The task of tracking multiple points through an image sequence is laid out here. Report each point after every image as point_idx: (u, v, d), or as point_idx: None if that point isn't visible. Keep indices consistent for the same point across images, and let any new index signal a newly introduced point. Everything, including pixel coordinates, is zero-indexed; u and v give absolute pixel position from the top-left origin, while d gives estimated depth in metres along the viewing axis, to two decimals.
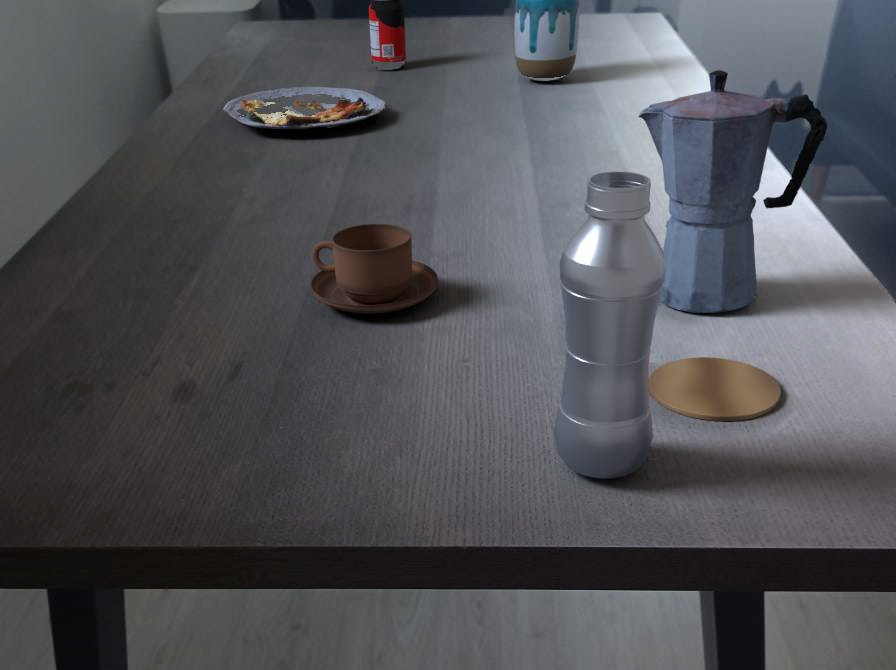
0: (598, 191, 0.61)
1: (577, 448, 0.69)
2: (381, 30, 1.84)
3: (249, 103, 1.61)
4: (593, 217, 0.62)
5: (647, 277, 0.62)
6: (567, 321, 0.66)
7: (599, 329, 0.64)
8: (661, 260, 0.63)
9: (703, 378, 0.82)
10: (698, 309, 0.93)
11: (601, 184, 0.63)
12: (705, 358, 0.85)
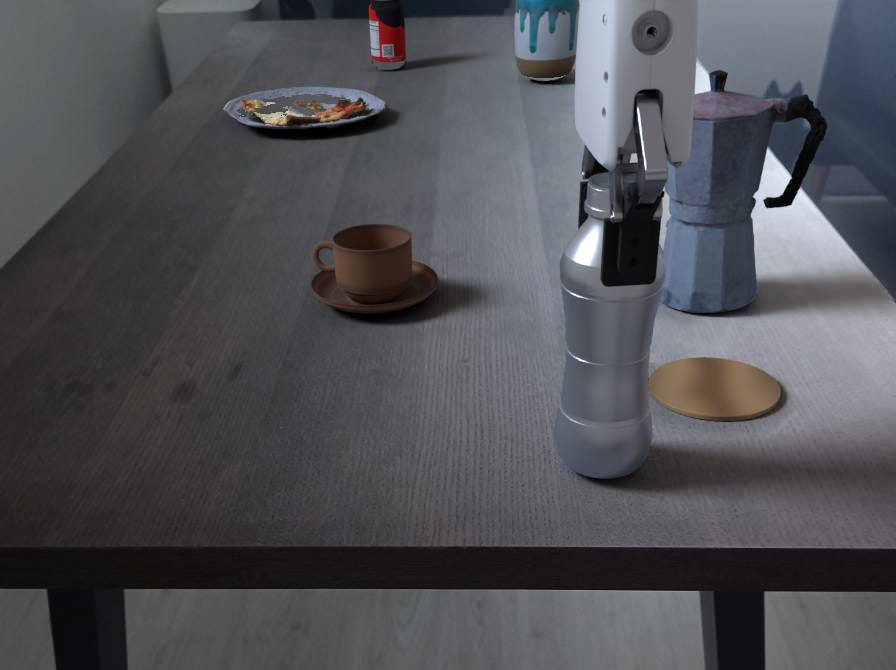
0: (598, 191, 0.61)
1: (577, 448, 0.69)
2: (381, 30, 1.84)
3: (249, 103, 1.61)
4: (593, 217, 0.62)
5: None
6: (567, 321, 0.66)
7: (599, 330, 0.64)
8: (661, 260, 0.63)
9: (703, 378, 0.82)
10: (698, 309, 0.93)
11: (601, 184, 0.63)
12: (705, 358, 0.85)
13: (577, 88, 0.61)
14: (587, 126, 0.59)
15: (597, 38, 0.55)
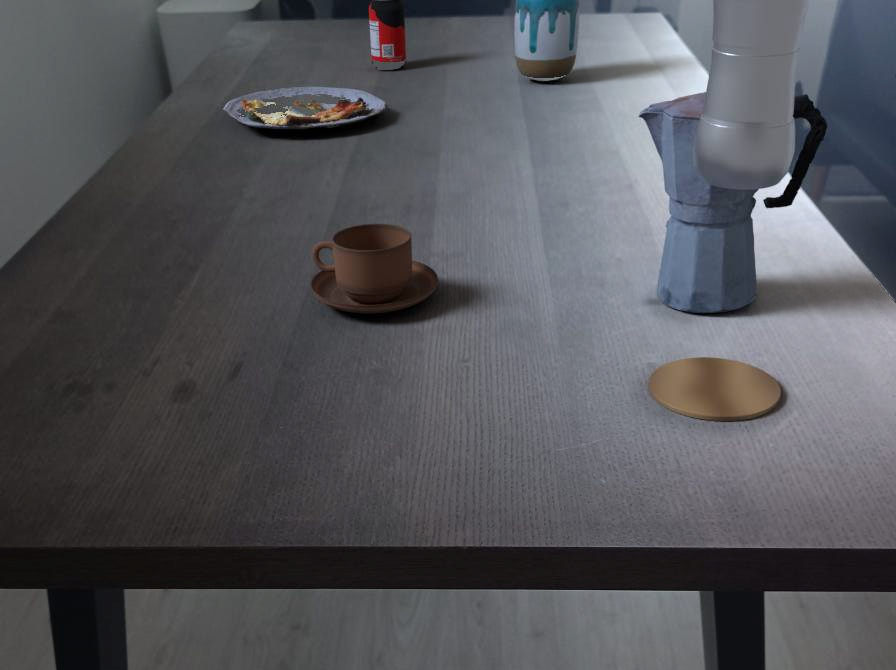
0: None
1: (722, 155, 0.69)
2: (381, 30, 1.84)
3: (249, 103, 1.61)
4: None
5: None
6: (718, 15, 0.66)
7: (754, 15, 0.64)
8: None
9: (703, 378, 0.82)
10: (698, 309, 0.93)
11: None
12: (705, 358, 0.85)
13: None
14: None
15: None
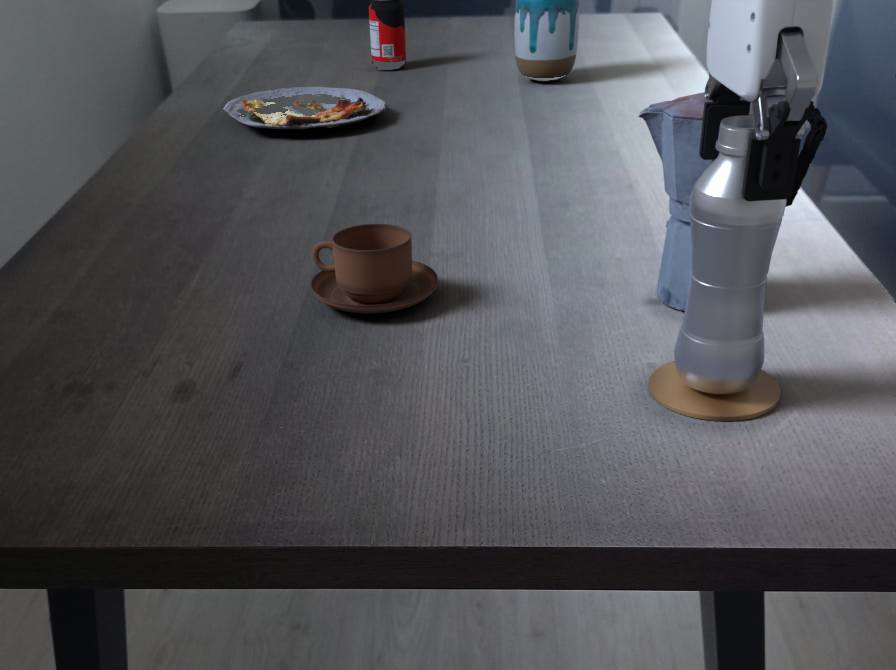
0: (732, 131, 0.69)
1: (699, 366, 0.77)
2: (381, 30, 1.84)
3: (249, 103, 1.61)
4: (725, 155, 0.71)
5: (772, 208, 0.71)
6: (695, 250, 0.75)
7: (726, 256, 0.73)
8: None
9: None
10: None
11: None
12: None
13: (713, 32, 0.69)
14: (726, 64, 0.68)
15: None
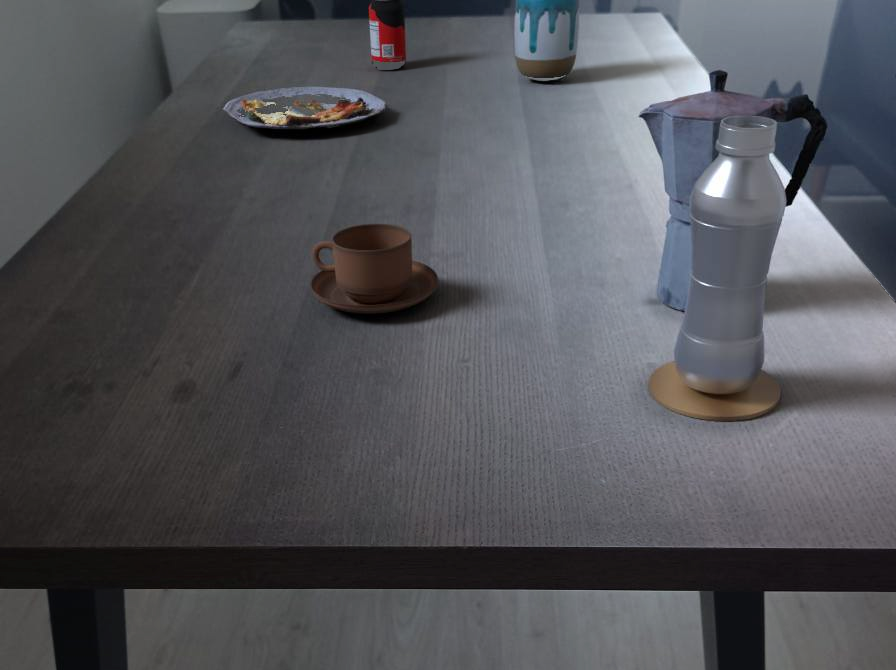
0: (732, 131, 0.69)
1: (699, 366, 0.77)
2: (381, 30, 1.84)
3: (249, 103, 1.61)
4: (725, 155, 0.71)
5: (772, 208, 0.71)
6: (695, 250, 0.75)
7: (726, 256, 0.73)
8: (783, 193, 0.71)
9: None
10: None
11: None
12: None
13: None
14: None
15: None
